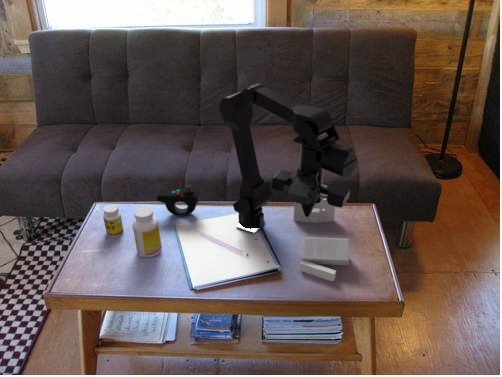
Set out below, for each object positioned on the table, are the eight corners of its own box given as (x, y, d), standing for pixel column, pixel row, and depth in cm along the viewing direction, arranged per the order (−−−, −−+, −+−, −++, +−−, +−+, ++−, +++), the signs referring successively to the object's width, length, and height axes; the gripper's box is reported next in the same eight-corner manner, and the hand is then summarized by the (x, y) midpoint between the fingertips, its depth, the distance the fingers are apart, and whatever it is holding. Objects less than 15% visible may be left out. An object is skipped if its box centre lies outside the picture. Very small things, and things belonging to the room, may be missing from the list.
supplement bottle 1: (103, 235, 133) (98, 210, 129) (113, 225, 137) (108, 202, 132) (117, 238, 132) (112, 214, 127) (127, 229, 135) (122, 205, 131)
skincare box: (301, 263, 123) (348, 266, 120) (300, 258, 119) (348, 261, 117) (303, 241, 125) (348, 244, 123) (302, 236, 121) (349, 238, 119)
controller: (198, 218, 140) (196, 190, 135) (157, 218, 140) (154, 190, 135) (200, 210, 144) (198, 182, 138) (160, 210, 144) (156, 182, 138)
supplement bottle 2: (166, 246, 128) (161, 208, 122) (152, 261, 123) (146, 221, 117) (146, 240, 131) (140, 202, 124) (132, 254, 126) (125, 215, 119)
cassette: (333, 218, 139) (335, 197, 135) (334, 222, 138) (336, 200, 134) (293, 218, 140) (294, 197, 136) (293, 222, 138) (294, 200, 134)
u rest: (299, 270, 120) (300, 263, 119) (315, 246, 128) (316, 239, 127) (333, 281, 116) (334, 274, 115) (347, 256, 125) (348, 249, 123)
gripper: (261, 167, 108) (260, 222, 116) (338, 188, 100) (331, 244, 109) (281, 148, 116) (279, 200, 125) (354, 166, 109) (346, 220, 117)
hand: (307, 216), depth 118 cm, fingers closed
